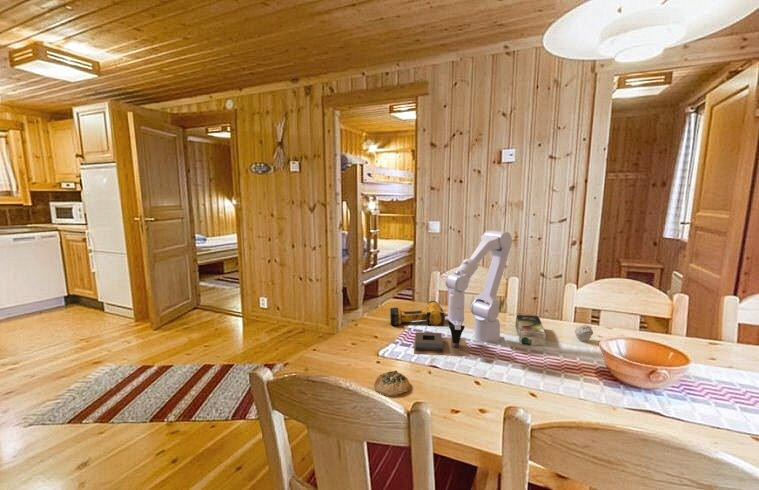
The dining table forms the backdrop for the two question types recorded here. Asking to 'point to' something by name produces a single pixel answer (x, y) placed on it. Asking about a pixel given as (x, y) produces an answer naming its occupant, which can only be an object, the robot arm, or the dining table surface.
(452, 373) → the dining table surface
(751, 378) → the dining table surface
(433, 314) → the power drill
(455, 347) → the metal peg
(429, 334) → the socket block
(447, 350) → the walnut board
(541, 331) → the juice carton
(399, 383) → the bread roll
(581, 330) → the grey rock
